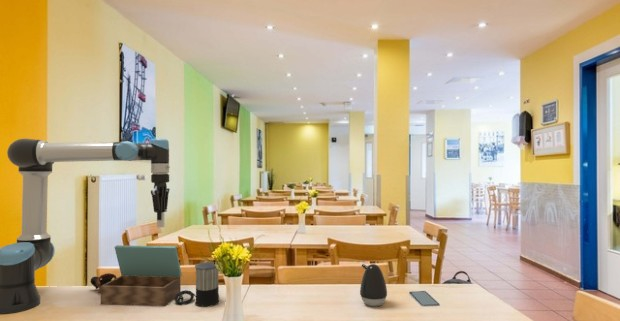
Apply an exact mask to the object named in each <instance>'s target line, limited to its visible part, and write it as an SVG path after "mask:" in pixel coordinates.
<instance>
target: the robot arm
mask: <svg viewBox="0 0 620 321" xmlns="http://www.w3.org/2000/svg"><path fill="white" fill-rule="evenodd" d="M169 145H170V144H169V140H168V139H167V138H151V139H150V142H148V143H144V142H143V143H140V142H139V143H138V142H132V141H128V140H127V141H126V140H125V141H98V142H96V141H94V142H90V141H89V142H87V141H86V142H83V141H82V142H49V141H47V140H46V141H45V140H43V139H35V138H34V139H33V138H19V139H16V140H14V141H13V142H11V143H10V144H9V146H8V148H7V153H6V154H7V158H8V159H9V161H10V162H11V164H13V165H14V166H16V167H18V173H19V174H20V175H21V176H22V194H21V195H22V200H21V209H22V210H21V233H20V235H19V236H18V237H17V238H16V242H15V243H11V244H6V245H3V246H1V247H0V314H1V315H2V314H12V313H18V312H23V311H26V310H30V309H32V308H35V307H37V306H39V305H40V303H41V295H40V294H39V291H38V288H37V285H36V280H35V278H36V274H35V272H36V271H37V270H38V269H42V268H43V267H45V266H46V265H48V264H49V263H50V262H51V261H52V259H53V257H54V255H55V251H56V250H55V246H54V243H52V241H51V238H52V237H51V234H49V233H48V230H47V227H48V224H47V223H48V182H49V175H51V174H52V173H53V164H54V163H64V162H66V163H67V162H69V163H71V162H108V161H109V162H110V161H111V162H113V161H117V162H118V161H124V162H126V161H128V162H132V161H150V173H151V175H150V182H151V183H152V184H153V190H150V194H151V200H152V205H153V211H154V213H156V227H157V228H164V227H165V225H166V224H165V222H166V221H165V213H167V212H168V204H169V203H168V202H169V193H170V188H167V187H168V186H167V183H170V174H169V173H170V168H171V166H170V146H169ZM165 228H166V227H165Z"/></svg>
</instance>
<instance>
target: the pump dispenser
mask: <svg viewBox="0 0 620 321" xmlns="http://www.w3.org/2000/svg"><path fill="white" fill-rule="evenodd" d="M361 267H362V268H363V269H364V272H363V275H362V279H361V282H360V288H359V295H360V297H361V300H362V302H363V303H364V304H365V305H366V306H368V307H369V306H370V307H380V306H381V305H383V304H384V303H385V302H386V299H387V297H388V290H387V288H388V287H387V284H386V279H385V276H384V274H383V271H382V269H381V268H380V266H379V265H378V264H376V263H371V264H369V265H368V266H367V265H366V264H364V263H362V264H361Z"/></svg>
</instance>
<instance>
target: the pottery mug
mask: <svg viewBox="0 0 620 321" xmlns="http://www.w3.org/2000/svg"><path fill="white" fill-rule="evenodd" d="M116 278H117V275H116V274H114V273H110V272H109V273H107V272H106V273H103V274H101V275H99V276H92V277H91V279H90V283H91V285H92V286H93V287H95V290H97V289H98V291H97V292H98V294H99V295H101V291H100V286H102V285H104V284H106V283H108V282H110V281H112V280H113V279H116Z"/></svg>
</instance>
